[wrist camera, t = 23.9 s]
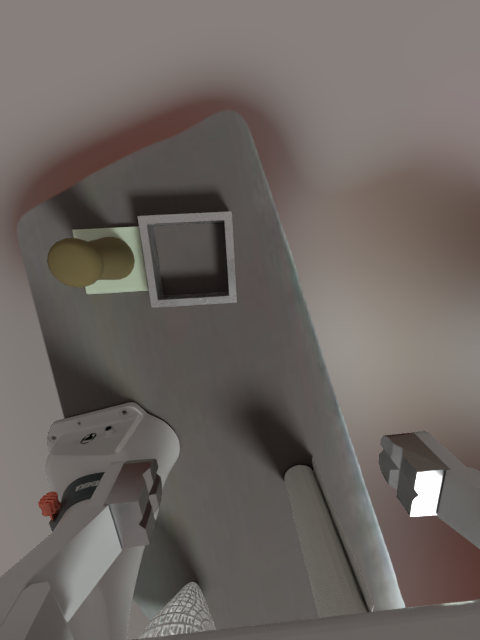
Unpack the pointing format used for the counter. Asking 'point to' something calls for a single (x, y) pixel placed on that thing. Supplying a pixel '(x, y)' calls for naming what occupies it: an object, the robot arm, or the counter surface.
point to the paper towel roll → (325, 546)
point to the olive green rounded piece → (90, 260)
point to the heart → (182, 614)
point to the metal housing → (154, 268)
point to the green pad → (138, 274)
